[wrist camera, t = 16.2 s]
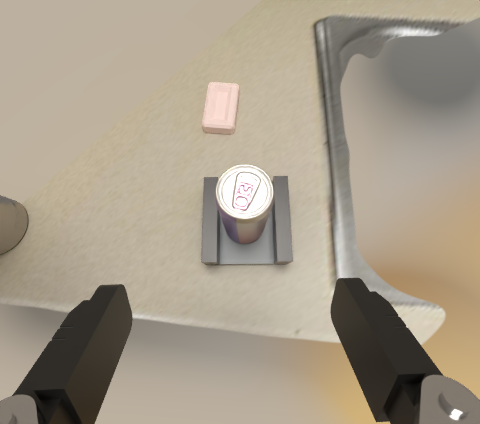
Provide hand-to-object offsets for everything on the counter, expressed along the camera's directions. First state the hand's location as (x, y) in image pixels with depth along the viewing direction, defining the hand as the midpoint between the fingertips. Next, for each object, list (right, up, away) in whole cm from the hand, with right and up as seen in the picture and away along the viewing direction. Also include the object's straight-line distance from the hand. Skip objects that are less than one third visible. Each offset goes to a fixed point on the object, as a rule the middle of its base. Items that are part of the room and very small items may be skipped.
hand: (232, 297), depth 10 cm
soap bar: (-3, +21, +36) cm, 42 cm away
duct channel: (+1, +1, +30) cm, 30 cm away
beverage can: (+1, +1, +29) cm, 29 cm away
